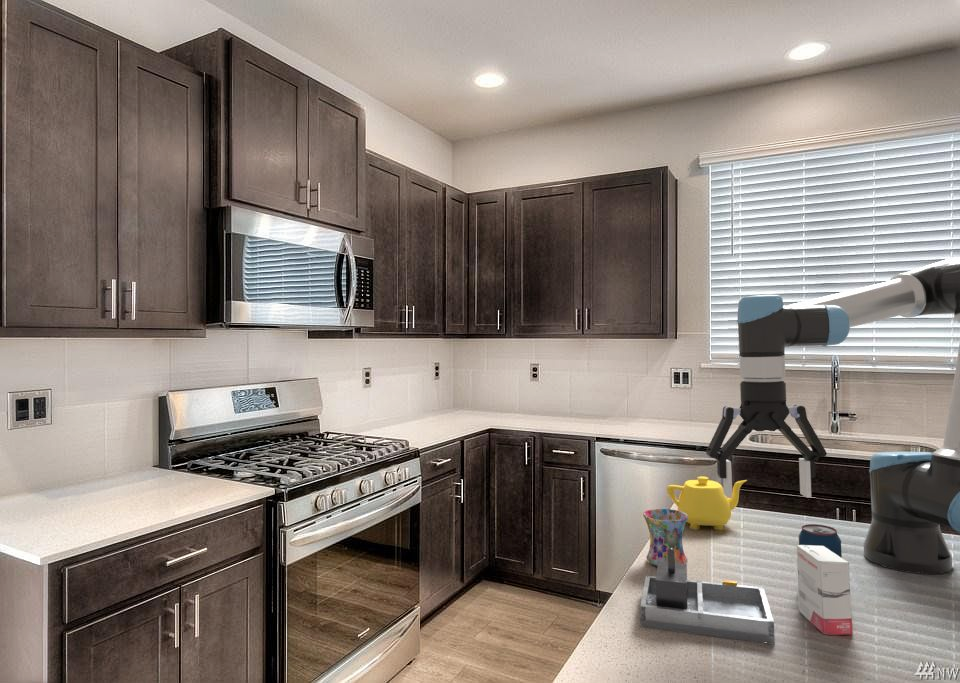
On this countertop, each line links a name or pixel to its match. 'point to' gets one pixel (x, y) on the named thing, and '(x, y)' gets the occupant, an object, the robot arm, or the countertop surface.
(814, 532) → the soda can
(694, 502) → the teapot
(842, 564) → the ink box
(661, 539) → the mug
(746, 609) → the divided grey tray
